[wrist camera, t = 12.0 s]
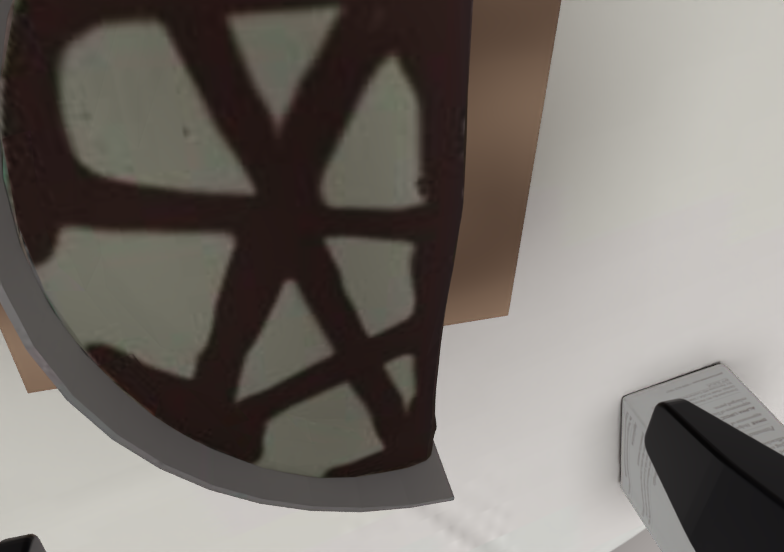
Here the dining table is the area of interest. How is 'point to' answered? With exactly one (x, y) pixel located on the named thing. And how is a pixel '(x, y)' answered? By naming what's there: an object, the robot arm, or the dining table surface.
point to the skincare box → (714, 395)
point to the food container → (241, 232)
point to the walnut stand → (469, 162)
